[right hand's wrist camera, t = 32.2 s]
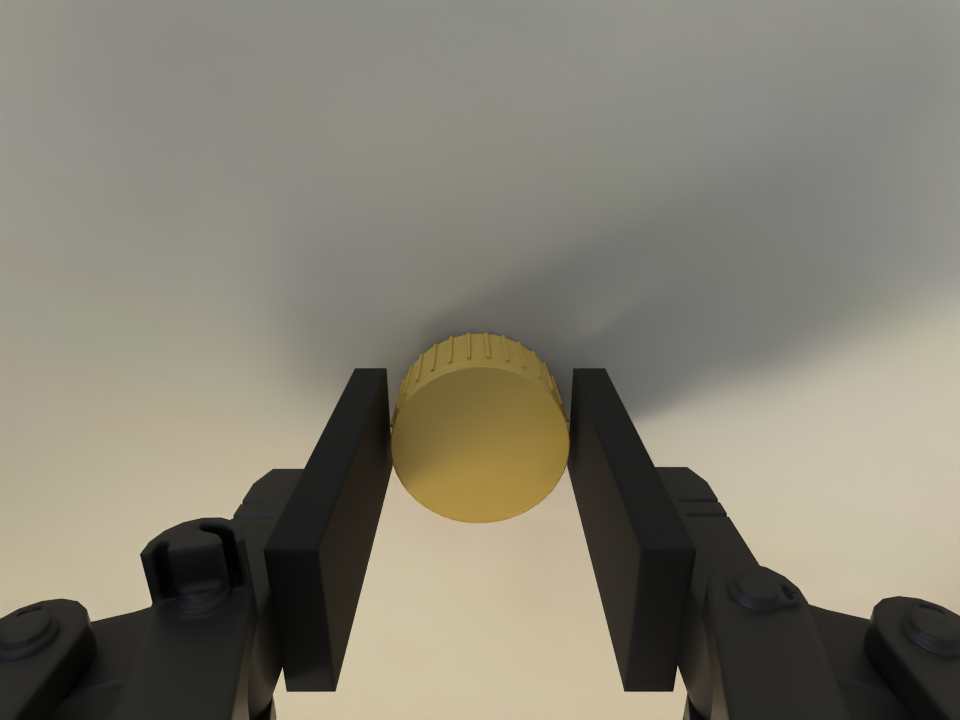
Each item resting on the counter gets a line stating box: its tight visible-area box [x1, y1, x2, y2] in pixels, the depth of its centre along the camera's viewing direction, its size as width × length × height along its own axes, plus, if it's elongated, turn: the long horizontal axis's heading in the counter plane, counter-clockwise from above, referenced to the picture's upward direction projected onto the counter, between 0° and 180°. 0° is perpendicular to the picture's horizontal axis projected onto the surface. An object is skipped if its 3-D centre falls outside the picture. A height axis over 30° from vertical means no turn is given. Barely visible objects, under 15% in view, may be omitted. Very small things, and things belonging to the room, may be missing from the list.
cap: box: [390, 332, 570, 523], centre depth 14 cm, size 4×4×2 cm
